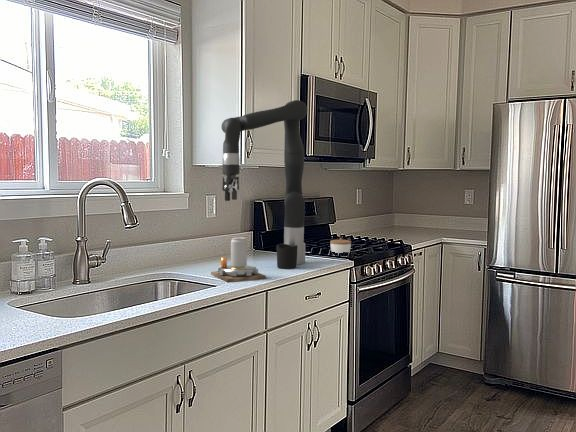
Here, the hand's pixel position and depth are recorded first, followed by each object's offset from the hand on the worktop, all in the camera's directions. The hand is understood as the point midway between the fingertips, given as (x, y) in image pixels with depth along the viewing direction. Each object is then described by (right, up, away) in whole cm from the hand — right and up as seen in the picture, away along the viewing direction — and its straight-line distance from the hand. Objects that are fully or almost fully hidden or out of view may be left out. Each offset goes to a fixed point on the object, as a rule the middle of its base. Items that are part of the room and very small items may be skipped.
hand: (230, 200), depth 245 cm
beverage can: (+5, -28, -21) cm, 35 cm away
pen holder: (+25, -30, +3) cm, 39 cm away
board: (+5, -32, -20) cm, 38 cm away
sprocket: (+5, -30, -20) cm, 37 cm away
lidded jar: (+52, -28, +39) cm, 71 cm away
